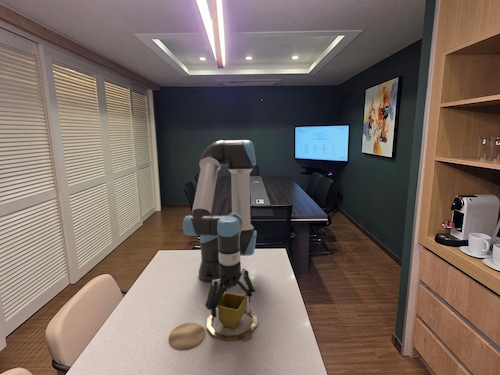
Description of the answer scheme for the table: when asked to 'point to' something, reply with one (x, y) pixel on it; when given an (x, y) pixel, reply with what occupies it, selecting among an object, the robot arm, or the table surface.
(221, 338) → the socket ring
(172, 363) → the table surface
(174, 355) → the table surface
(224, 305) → the flower pot
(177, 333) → the coaster
